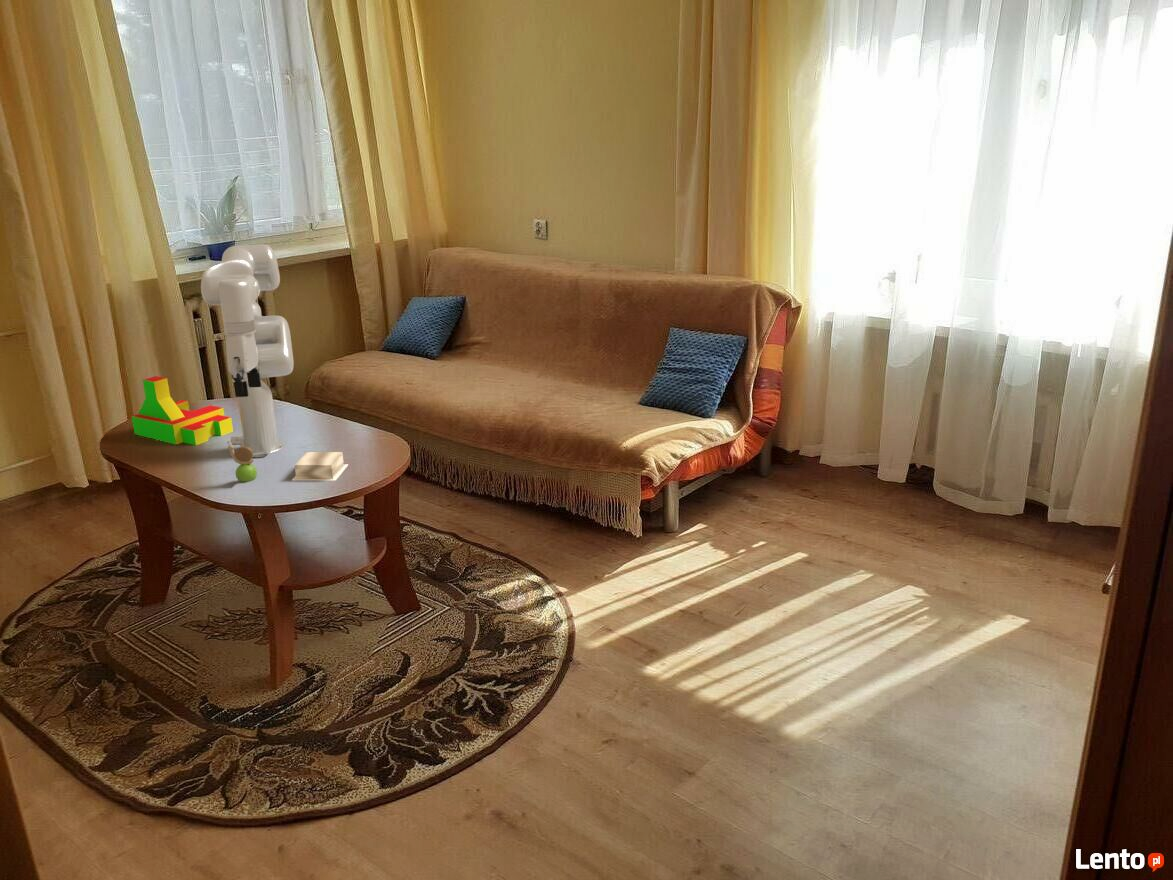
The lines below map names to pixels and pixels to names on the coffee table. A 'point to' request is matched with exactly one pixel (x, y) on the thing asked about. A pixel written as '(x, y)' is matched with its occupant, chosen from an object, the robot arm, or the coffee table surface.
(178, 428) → the building blocks toy
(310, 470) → the pedestal block
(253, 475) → the snail figurine
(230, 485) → the coffee table surface
